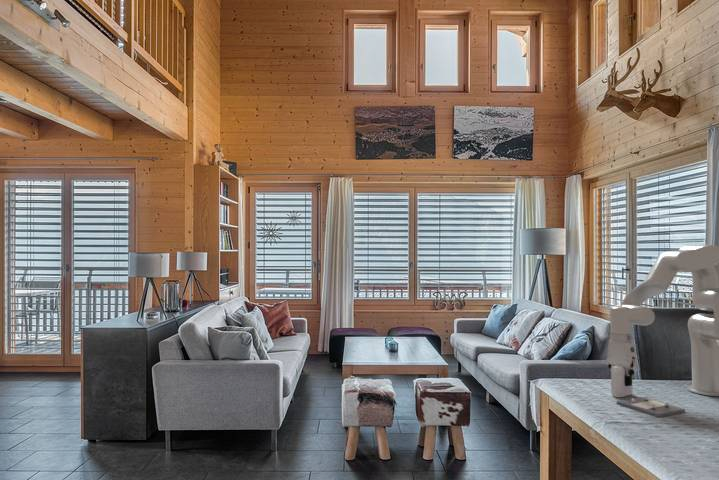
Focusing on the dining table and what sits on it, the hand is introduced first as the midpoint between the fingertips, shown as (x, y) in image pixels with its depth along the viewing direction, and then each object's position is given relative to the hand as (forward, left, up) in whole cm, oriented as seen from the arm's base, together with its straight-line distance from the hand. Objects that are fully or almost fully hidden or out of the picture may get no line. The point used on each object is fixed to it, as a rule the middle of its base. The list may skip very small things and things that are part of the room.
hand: (621, 383), depth 187 cm
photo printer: (0, 0, -5) cm, 5 cm away
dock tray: (+5, +15, -5) cm, 16 cm away
